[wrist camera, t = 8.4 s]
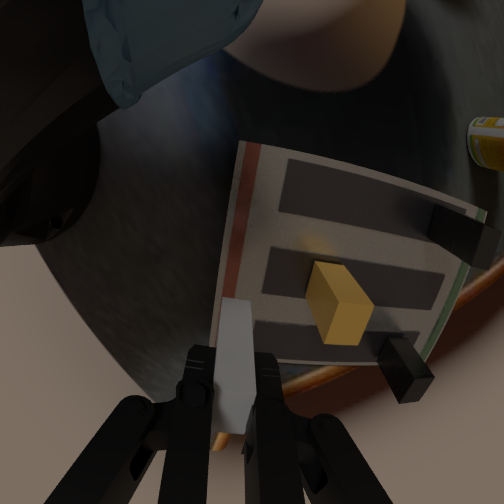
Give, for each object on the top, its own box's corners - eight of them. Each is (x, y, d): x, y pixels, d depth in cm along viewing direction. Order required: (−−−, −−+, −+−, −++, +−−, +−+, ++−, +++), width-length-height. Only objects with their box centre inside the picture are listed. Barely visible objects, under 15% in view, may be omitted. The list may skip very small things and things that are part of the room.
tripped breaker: (305, 296, 22) (323, 343, 17) (314, 261, 21) (338, 302, 16) (333, 299, 23) (357, 345, 17) (343, 265, 22) (374, 305, 16)
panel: (210, 334, 28) (201, 409, 19) (239, 141, 21) (238, 138, 12) (413, 347, 30) (450, 401, 21) (469, 204, 24) (533, 232, 15)
